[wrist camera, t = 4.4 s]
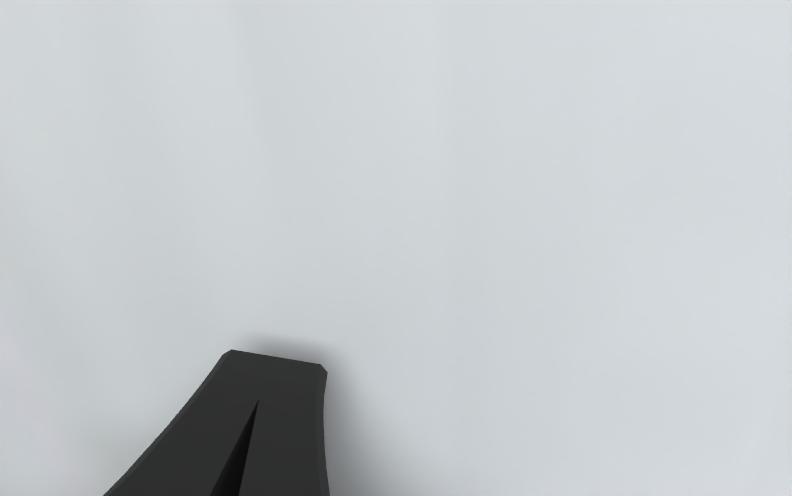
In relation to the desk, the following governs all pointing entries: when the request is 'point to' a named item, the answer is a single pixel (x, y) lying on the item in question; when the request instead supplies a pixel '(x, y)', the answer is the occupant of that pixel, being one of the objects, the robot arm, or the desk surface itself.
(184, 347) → the desk surface
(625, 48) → the desk surface
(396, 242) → the desk surface
